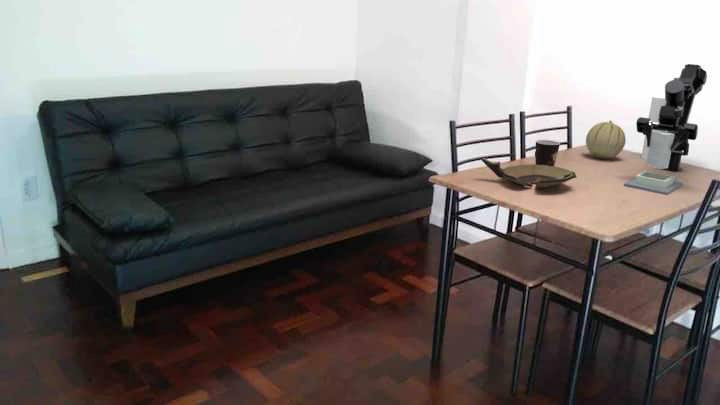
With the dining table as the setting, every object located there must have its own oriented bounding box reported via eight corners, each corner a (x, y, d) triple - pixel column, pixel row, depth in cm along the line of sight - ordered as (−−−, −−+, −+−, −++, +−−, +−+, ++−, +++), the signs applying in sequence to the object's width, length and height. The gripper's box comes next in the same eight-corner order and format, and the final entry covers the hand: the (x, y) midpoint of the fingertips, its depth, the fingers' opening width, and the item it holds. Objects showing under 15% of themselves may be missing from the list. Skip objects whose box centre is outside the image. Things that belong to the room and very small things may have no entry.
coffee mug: (547, 165, 232) (550, 139, 228) (561, 171, 224) (564, 144, 221) (520, 166, 228) (524, 140, 225) (534, 172, 220) (537, 145, 217)
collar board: (641, 176, 221) (643, 167, 220) (682, 184, 212) (684, 175, 211) (623, 185, 208) (625, 176, 207) (667, 194, 199) (669, 185, 198)
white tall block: (637, 156, 252) (648, 95, 244) (653, 156, 252) (665, 96, 245) (647, 160, 245) (659, 98, 237) (663, 160, 246) (676, 98, 238)
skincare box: (668, 168, 206) (675, 133, 202) (658, 169, 205) (665, 134, 201) (654, 164, 211) (661, 130, 208) (644, 164, 210) (651, 130, 206)
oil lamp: (561, 200, 190) (565, 176, 187) (473, 182, 206) (475, 160, 203) (581, 185, 207) (585, 163, 205) (499, 169, 223) (501, 149, 221)
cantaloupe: (584, 160, 242) (589, 122, 237) (582, 152, 255) (588, 116, 251) (623, 164, 238) (630, 126, 233) (620, 156, 251) (626, 120, 247)
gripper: (642, 93, 209) (629, 130, 204) (703, 100, 199) (690, 138, 194) (643, 113, 217) (630, 149, 212) (702, 120, 207) (689, 158, 202)
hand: (659, 148), depth 205 cm, fingers closed on skincare box, 7 cm apart
